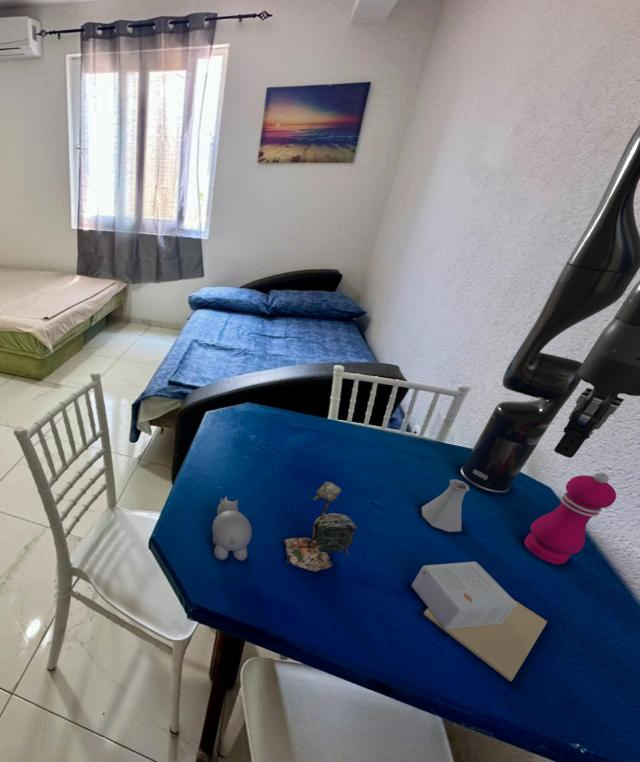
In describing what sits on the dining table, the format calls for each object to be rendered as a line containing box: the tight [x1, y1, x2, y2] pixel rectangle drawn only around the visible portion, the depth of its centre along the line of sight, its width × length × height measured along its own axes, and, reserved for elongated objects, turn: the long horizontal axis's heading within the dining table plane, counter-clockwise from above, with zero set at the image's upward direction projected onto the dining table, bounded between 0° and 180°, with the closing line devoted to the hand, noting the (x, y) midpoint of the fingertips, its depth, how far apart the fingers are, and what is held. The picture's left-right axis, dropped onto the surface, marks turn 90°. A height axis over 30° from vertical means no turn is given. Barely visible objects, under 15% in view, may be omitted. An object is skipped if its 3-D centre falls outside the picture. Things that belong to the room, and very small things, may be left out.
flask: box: [421, 478, 470, 533], centre depth 85 cm, size 7×7×10 cm
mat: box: [423, 598, 548, 682], centre depth 68 cm, size 16×12×1 cm
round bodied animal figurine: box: [211, 495, 253, 561], centre depth 79 cm, size 7×12×8 cm, turn 174°
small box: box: [410, 561, 517, 629], centre depth 68 cm, size 8×6×10 cm
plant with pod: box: [283, 481, 358, 573], centre depth 73 cm, size 8×11×20 cm
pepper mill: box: [523, 472, 617, 565], centre depth 76 cm, size 7×7×20 cm
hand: (563, 453), depth 64 cm, fingers closed
